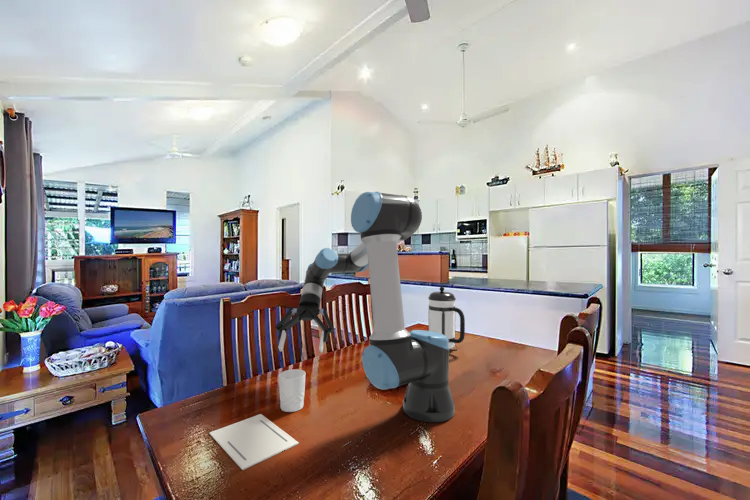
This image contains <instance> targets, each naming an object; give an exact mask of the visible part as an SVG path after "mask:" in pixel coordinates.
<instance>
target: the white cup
mask: <svg viewBox="0 0 750 500" xmlns="http://www.w3.org/2000/svg"><path fill="white" fill-rule="evenodd" d="M306 375H307V374H306V371H305V370H302V369H298V368H297V369H294V368H293V369H287V370H284V371H282V372H280V373H279V374H278V382H279V383H278V390H279V391H278V392H279V400H280V409H281V411H282V412H285V413H292V412H293V413H294V412H297V411H300V410H301V409H303V407H304V405H305V404H304V403H305V401H304V400H305V392H306Z"/></svg>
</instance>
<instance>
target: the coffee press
mask: <svg viewBox="0 0 750 500" xmlns="http://www.w3.org/2000/svg"><path fill="white" fill-rule="evenodd" d="M427 299H428V302H429V303H428V328H427V329H428V330H427V331H432V332H437V333H440V334H443V335H445V336H446V337H447V338H448V341H449V350H451V349H453V350H454V351H458V350H459V349H458V347H457V345H456V344H460V343H463V341H464V339H465V335H466V333H465V332H466V331H465V330H466V327H465V326H466V325H465V324H466V323H465V322H466V321H465V320H466V319H465V314H464V311H462V309H460V308H458V307H456V299H457V298H456V297H455V295H454V294H453V293H452V292H450V291H445V287H444V286H440V287H439V291H433V292H431V293H430V294H429V295H428V297H427ZM456 313H457V314H458V315H459V327H460V328H459V331H460V332H459V338H458V339H457V338H456ZM455 347H456V348H455Z"/></svg>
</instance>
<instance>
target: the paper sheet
mask: <svg viewBox="0 0 750 500" xmlns="http://www.w3.org/2000/svg"><path fill="white" fill-rule="evenodd" d="M209 435H210V436H211V437H212V438H213V440H215V441H216V443H217V444H218V445H219V446H220V447H221V448H222V449H223V451H225V453H226V454H227V455H228V456H229V457H230V458H231V459H232V460H233V461H234V463H235V464H236V465H237V466H238V467H239V468H240V469H241V470H242V471H244V470H246V469H249V468H251V467H253V466H255V465H257V464H260V463H261V462H263V461H266V460H268V459H269V458H272V457H274V456H276V455H278V454H280V453H282V451H283V452H284V450H285V451H287V450H290V448H293V447H295V446H298V445H299V444H300V442H299V441H297V440H296V439H295V438H294V437H292V436H291V435H290V434H288V433H287V432H285V431H284V430H283V429H281V428H280V427H279V426H278V425H276V424H275V423H274V422H272V421H271V420H270V419H268V418H267V417H266V416H265V415H263V414H262V413H260V414H256V415H254V416H251V417H249V418H245V419H243V420H240V421H238V422H235V423H232V424H229V425H225V426H224V427H221V428H218V429H215V430H213V431H210V432H209Z"/></svg>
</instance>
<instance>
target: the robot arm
mask: <svg viewBox="0 0 750 500" xmlns="http://www.w3.org/2000/svg"><path fill="white" fill-rule="evenodd" d="M422 214H423V212H422V209H421V207H420V204H419V203H418V202H417V201H416V200H415V199H414V198H412V197H410V196H407V195H403V194H401V195H399V194H393V193H385V192H384V193H383V192H379V191H366V192H362V193H361V194H359V195H358V196H357V198H356V199H355V201H354V203H353V206H352V208H351V213H350V224H351V228H353V229H352V230H354V232H356V233H358V234H360V242H361V243H360V244H358V246H356V247H355V248H354V249H353V250H352V251H350V252H348V253H337V252H336V250H334V249H331V248H330V247H324V248H322V249H321V250H319V252H318V253H317V255H316V257H315V259H314V261H313V262H311V263H310V264H309V265H308V266H307V269H306V271H305V278H304V282H303V287H302V291H301V295H300V299H299V303H298V306H297V308H294V307H293V306H290V307H289V308H288V311H287V312H286V313H285V315H284V316H282V318H281V320H279V322H278V323H277V324H276V325H275V326H274V328H275V331H276V332H277V333H278V336H277V340H278V342H279V343H278V347H277V348H278V350H279V352H283V350H284V346H285V343H286V339H287V333H286V332H288V331H289V330H290V329H291V328H292V327H294V326H295V325H296V324H297V323H300V322H301V321H303V322H305V321H309V322H310V321H311V322H312V321H313V320H314V322H315V323H316V324H317V326H318V327H319V328H320V329H321V330H322V331H321V333H320V341H319V347H318V349H319V353H323V352H324V351H323V350H324V343H328V337H329V334H333V333H334V326H333V324H332V321H331V320H330V317H329V315H328V308H327V307H326V306H324V307H323V308H320V306H321V299H322V294H323V289H324V284H325V281H326V280H327V278H328V277H329V275H330V274H343V273H345V274H346V273H361V272H362V273H363V272H366V270H367V269H368V277H369V287H370V298H371V299H370V300H371V312H372V322H373V323H372V324H373V332H372V333H371V334H370V335H369V337H368V341H369V345H367V346H366V347H365V348H364V349H363V352H362V356H361V360H362V361H361V362H362V368H363V370H364V373H365V375H366V377H367V379H368V380H369V382H370V383H371V384H372V386H374V387H375V388H377V389H379V390H389V389H396V388H397V387H400V386H404V385H407V388H406V391H405V394H404V398H403V400H402V409H403V412H404V413H405V415H407V416H408V417H409V418H411V419H414V420H416V421H419V422H425V423H441V422H446V421H448V420H450V419H452V418H453V417H454V415H455V411H456V410H455V408H456V407H455V402H454V400H453V396H452V392H451V389H450V386H449V385H450V384H449V380H450V378H449V376H450V375H449V374H450V373H449V371H450V349H449V341H448V338H447V337H446V336H445V335H443V334H440V333H437V332H432V331H428V330H424V329H423V330H422V329H412V330H410V331H408V330H407V329H406V327H405V317H404V307H403V296H402V295H403V294H402V287H401V276H400V267H399V256H398V247H397V245H398V242H399V241H405V240H407V239H409V238H410V237H411V236H413V235H414V234H415V233H416V232H417V231H418V229H419V227H420V226H421V223H422V219H423V215H422ZM320 314H321V315H322V316H323V318H324V319H325V321H326V325H327V326H328V327H327V326H326V325H325V324H324V322H323V321H322V320H321V319H320V317H319V315H320Z"/></svg>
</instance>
